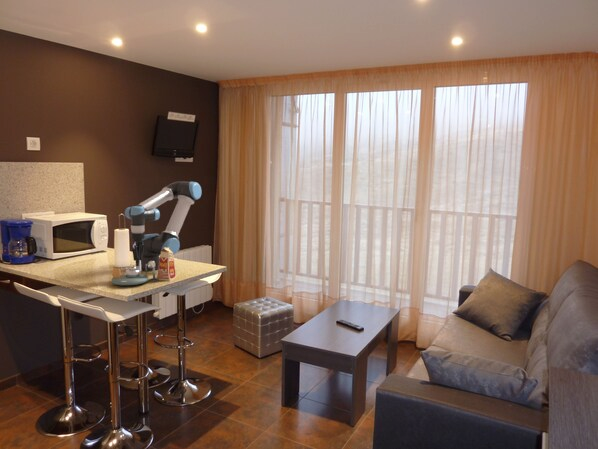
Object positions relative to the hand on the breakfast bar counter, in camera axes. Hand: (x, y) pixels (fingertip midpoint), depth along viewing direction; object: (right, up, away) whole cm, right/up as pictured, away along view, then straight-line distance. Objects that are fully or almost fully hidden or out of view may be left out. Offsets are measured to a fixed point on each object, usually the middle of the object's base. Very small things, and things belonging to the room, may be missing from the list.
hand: (138, 270), depth 277 cm
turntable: (-1, -5, -11) cm, 12 cm away
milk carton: (+16, -5, +3) cm, 17 cm away
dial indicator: (+10, -6, -4) cm, 12 cm away
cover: (-1, -3, -7) cm, 8 cm away
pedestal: (-1, -6, -11) cm, 13 cm away
